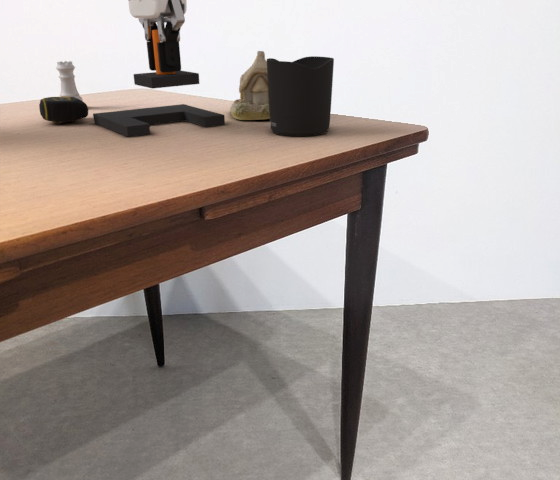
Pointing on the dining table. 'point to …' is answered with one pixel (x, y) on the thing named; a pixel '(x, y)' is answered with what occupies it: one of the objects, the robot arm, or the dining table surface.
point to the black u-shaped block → (155, 118)
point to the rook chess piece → (67, 80)
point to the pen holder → (300, 95)
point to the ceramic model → (253, 92)
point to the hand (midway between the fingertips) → (165, 69)
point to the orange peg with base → (164, 73)
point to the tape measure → (62, 109)
